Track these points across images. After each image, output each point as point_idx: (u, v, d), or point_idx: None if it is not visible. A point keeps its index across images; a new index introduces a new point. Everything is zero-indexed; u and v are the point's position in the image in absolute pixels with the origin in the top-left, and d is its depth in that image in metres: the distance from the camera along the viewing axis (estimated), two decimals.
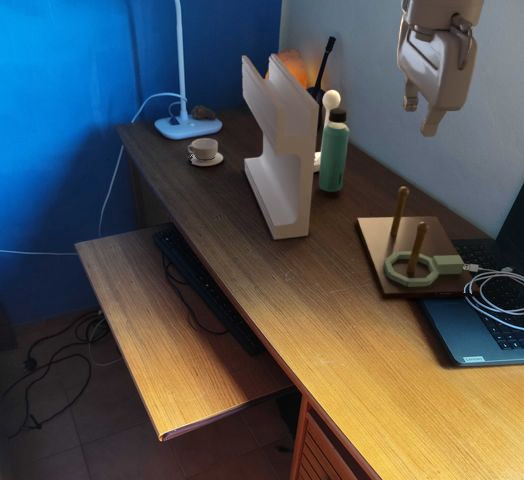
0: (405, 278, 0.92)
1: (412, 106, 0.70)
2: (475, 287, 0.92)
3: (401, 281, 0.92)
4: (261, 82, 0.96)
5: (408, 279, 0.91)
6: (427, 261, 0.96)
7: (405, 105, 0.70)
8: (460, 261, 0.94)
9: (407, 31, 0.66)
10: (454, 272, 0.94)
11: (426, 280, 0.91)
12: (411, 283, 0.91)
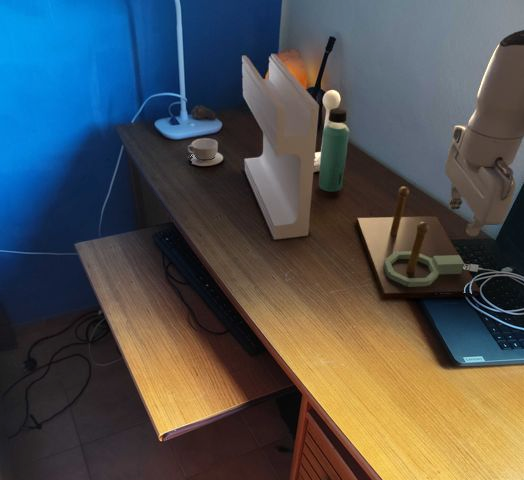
0: (405, 278, 0.92)
1: (456, 205, 0.90)
2: (475, 287, 0.92)
3: (401, 281, 0.92)
4: (261, 82, 0.96)
5: (408, 279, 0.91)
6: (427, 261, 0.96)
7: (451, 204, 0.90)
8: (460, 261, 0.94)
9: (456, 152, 0.85)
10: (454, 272, 0.94)
11: (426, 280, 0.91)
12: (411, 283, 0.91)
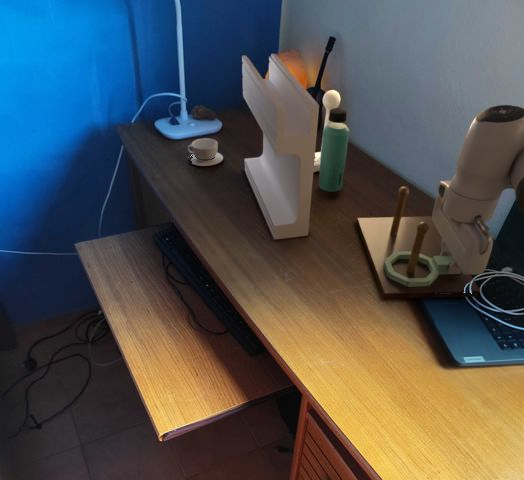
0: (405, 278, 0.92)
1: None
2: (475, 287, 0.92)
3: (401, 281, 0.92)
4: (261, 82, 0.96)
5: (408, 279, 0.91)
6: (427, 261, 0.96)
7: None
8: None
9: (441, 204, 0.93)
10: None
11: (426, 280, 0.91)
12: (411, 283, 0.91)
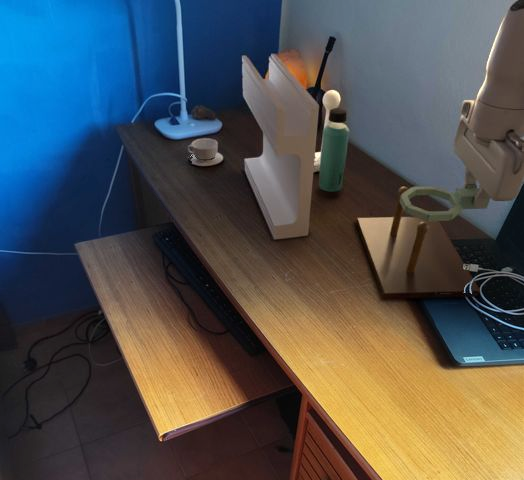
0: (425, 211, 0.81)
1: None
2: (475, 287, 0.92)
3: (420, 215, 0.82)
4: (261, 82, 0.96)
5: (428, 212, 0.81)
6: (449, 195, 0.86)
7: None
8: None
9: (464, 128, 0.82)
10: None
11: (449, 213, 0.81)
12: (431, 217, 0.81)
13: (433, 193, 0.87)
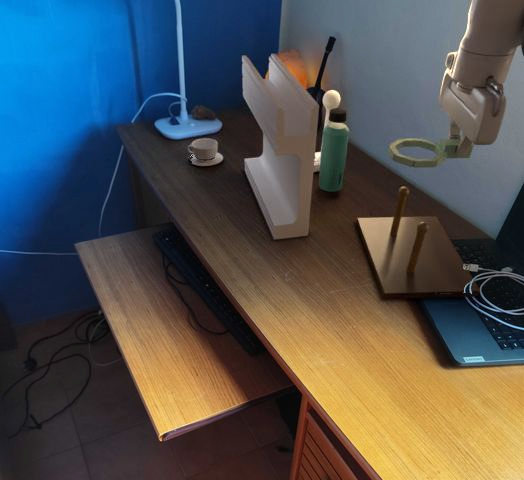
0: (411, 158, 0.86)
1: None
2: (475, 287, 0.92)
3: (406, 162, 0.87)
4: (261, 82, 0.96)
5: (414, 159, 0.86)
6: (434, 146, 0.91)
7: None
8: None
9: (449, 81, 0.88)
10: (462, 156, 0.89)
11: (434, 160, 0.86)
12: (417, 163, 0.86)
13: (419, 145, 0.92)
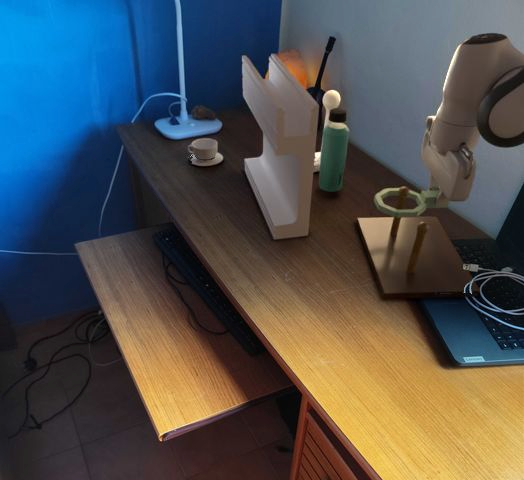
0: (394, 209, 0.96)
1: None
2: (475, 287, 0.92)
3: (390, 212, 0.96)
4: (261, 82, 0.96)
5: (397, 210, 0.96)
6: (416, 196, 1.01)
7: None
8: None
9: (429, 140, 0.97)
10: None
11: (414, 211, 0.96)
12: (400, 214, 0.96)
13: None
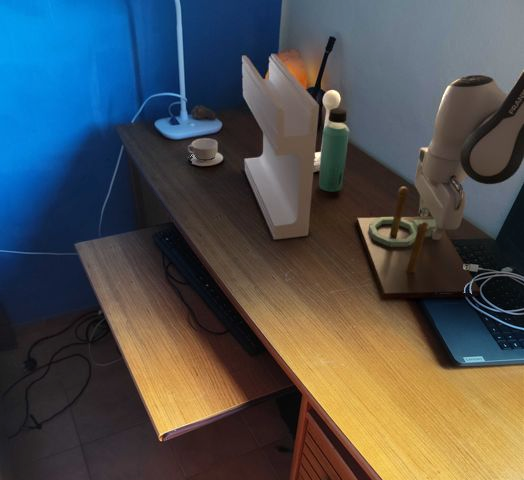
0: (387, 239, 1.01)
1: (424, 213, 1.06)
2: (475, 287, 0.92)
3: (383, 241, 1.02)
4: (261, 82, 0.96)
5: (390, 240, 1.01)
6: (408, 225, 1.06)
7: (420, 213, 1.07)
8: None
9: (422, 169, 1.02)
10: None
11: (407, 241, 1.01)
12: (393, 243, 1.01)
13: None
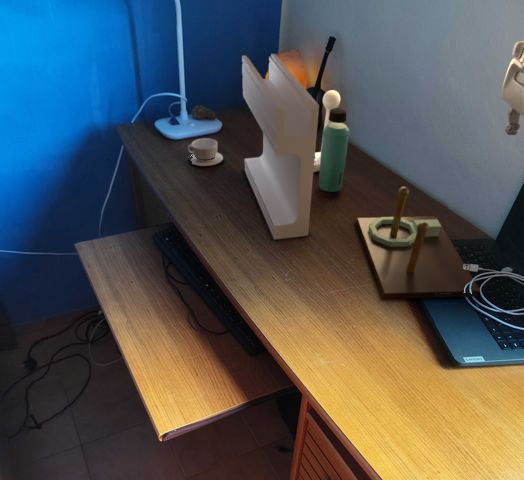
0: (387, 239, 1.01)
1: (513, 131, 0.87)
2: (475, 287, 0.92)
3: (383, 241, 1.02)
4: (261, 82, 0.96)
5: (390, 240, 1.01)
6: (408, 225, 1.06)
7: (508, 130, 0.87)
8: (438, 224, 1.03)
9: (515, 72, 0.83)
10: (432, 234, 1.04)
11: (407, 241, 1.01)
12: (393, 243, 1.01)
13: None
